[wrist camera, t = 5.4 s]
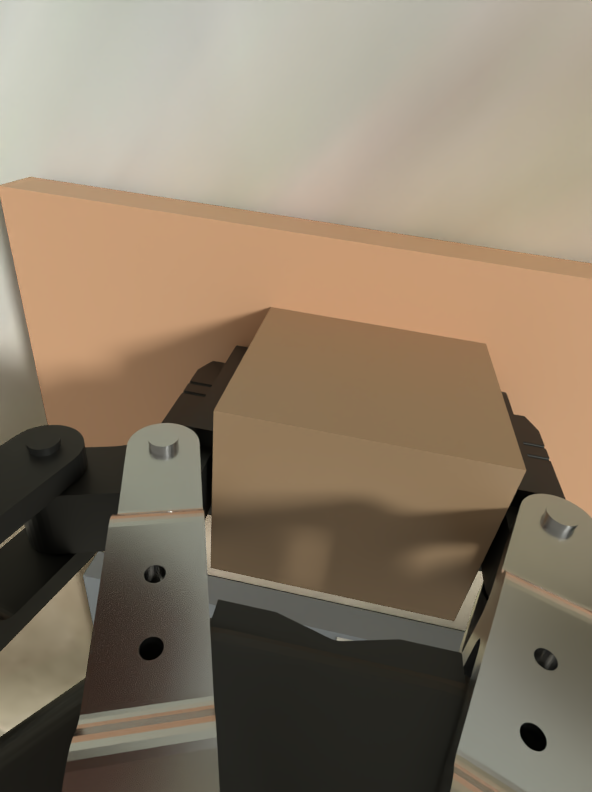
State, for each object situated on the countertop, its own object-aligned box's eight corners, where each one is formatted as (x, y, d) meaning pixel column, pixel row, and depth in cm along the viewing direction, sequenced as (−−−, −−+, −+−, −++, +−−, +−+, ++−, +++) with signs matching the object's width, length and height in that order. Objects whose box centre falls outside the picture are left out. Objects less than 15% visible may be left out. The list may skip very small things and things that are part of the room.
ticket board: (551, 650, 19) (560, 685, 18) (454, 788, 26) (457, 819, 25) (98, 551, 20) (81, 577, 19) (124, 706, 28) (113, 732, 27)
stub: (808, 297, 11) (1115, 464, 6) (639, 535, 15) (746, 740, 10) (29, 176, 12) (-192, 238, 8) (73, 422, 17) (-55, 558, 12)
